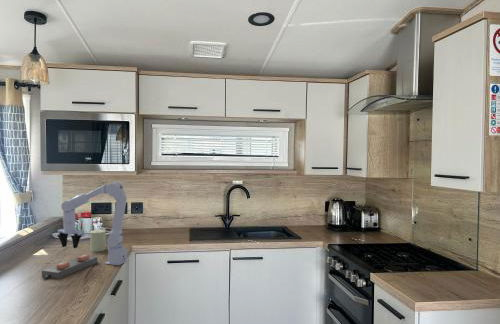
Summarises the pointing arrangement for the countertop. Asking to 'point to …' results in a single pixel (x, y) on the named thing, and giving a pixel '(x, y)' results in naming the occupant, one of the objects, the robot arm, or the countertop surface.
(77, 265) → the power strip
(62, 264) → the switch
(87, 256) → the switch
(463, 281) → the countertop surface
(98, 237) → the can
